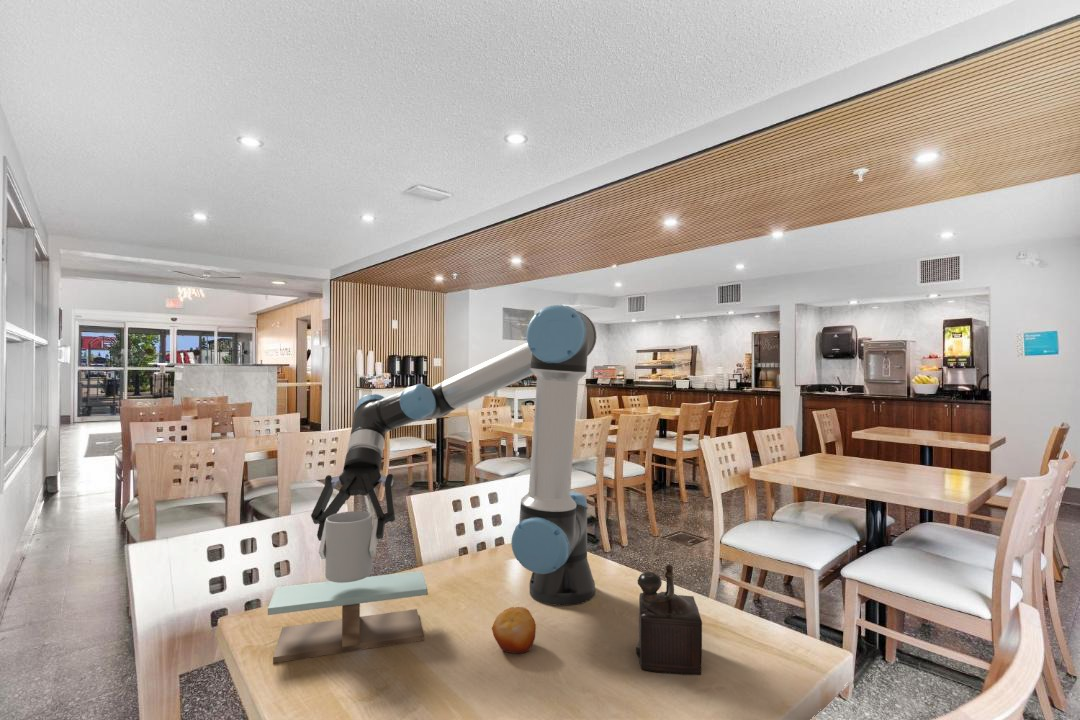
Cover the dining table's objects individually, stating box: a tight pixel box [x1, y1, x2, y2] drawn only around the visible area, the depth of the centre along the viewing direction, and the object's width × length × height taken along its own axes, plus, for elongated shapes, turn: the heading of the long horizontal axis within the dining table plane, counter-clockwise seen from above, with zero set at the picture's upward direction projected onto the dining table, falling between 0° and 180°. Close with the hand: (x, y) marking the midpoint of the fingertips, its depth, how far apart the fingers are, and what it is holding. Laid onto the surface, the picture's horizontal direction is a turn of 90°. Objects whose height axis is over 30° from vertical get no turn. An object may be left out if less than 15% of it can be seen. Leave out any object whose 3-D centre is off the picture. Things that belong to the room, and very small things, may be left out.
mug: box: [324, 510, 373, 583], centre depth 107 cm, size 12×8×11 cm
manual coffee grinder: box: [635, 564, 703, 676], centre depth 96 cm, size 16×11×18 cm
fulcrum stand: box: [272, 603, 424, 664], centre depth 107 cm, size 26×12×8 cm, turn 108°
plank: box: [267, 570, 429, 616], centre depth 107 cm, size 28×10×1 cm, turn 108°
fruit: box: [491, 606, 537, 654], centre depth 103 cm, size 8×8×8 cm
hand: (347, 554), depth 104 cm, fingers closed on mug, 8 cm apart
